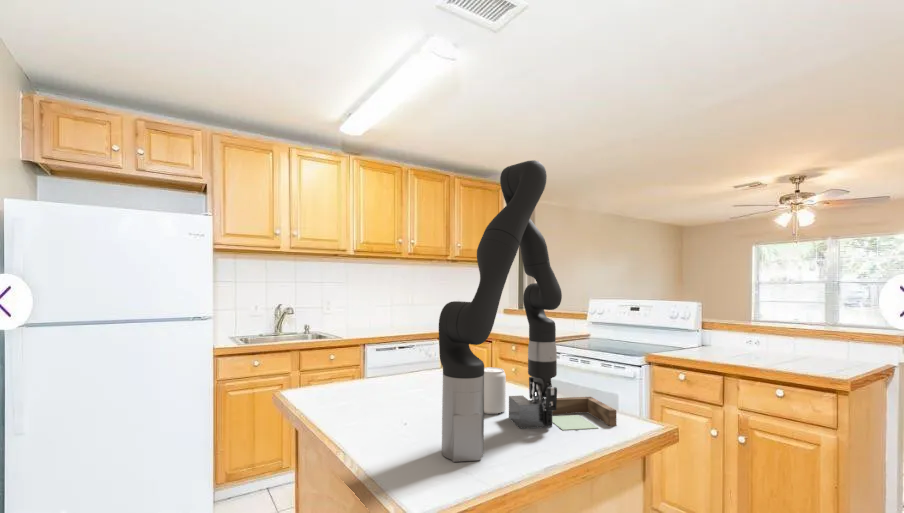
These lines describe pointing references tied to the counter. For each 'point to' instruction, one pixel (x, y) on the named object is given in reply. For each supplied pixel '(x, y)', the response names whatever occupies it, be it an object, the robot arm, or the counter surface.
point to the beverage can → (494, 390)
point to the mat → (572, 422)
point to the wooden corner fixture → (586, 408)
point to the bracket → (526, 412)
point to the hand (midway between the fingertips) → (542, 421)
